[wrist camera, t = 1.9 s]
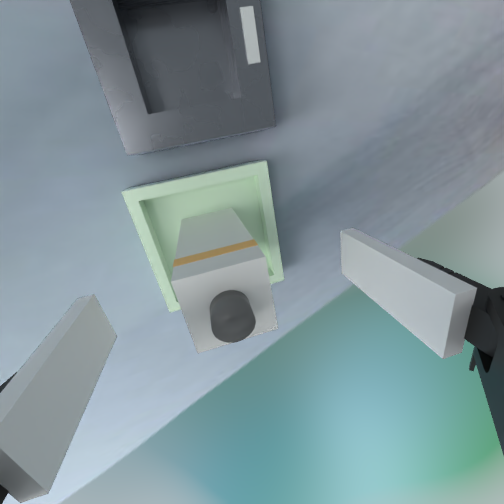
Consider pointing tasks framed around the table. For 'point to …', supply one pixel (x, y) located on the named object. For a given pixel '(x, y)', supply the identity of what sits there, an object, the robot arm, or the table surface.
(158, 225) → the tray
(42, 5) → the table surface
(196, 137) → the grey slotted holder
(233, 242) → the plug
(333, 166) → the table surface
